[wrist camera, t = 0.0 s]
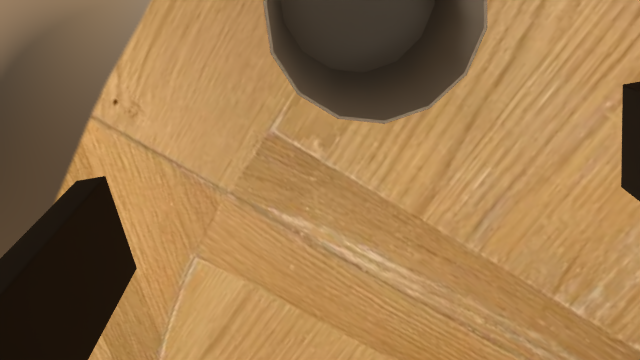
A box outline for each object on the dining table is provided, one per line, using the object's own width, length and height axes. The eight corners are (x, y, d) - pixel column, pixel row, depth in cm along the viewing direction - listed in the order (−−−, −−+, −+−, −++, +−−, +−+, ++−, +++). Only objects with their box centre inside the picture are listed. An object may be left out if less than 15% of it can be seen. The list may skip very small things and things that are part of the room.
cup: (248, 18, 32) (223, 49, 22) (330, -128, 29) (341, -162, 20) (378, 99, 33) (405, 159, 24) (466, -32, 31) (534, -21, 21)
